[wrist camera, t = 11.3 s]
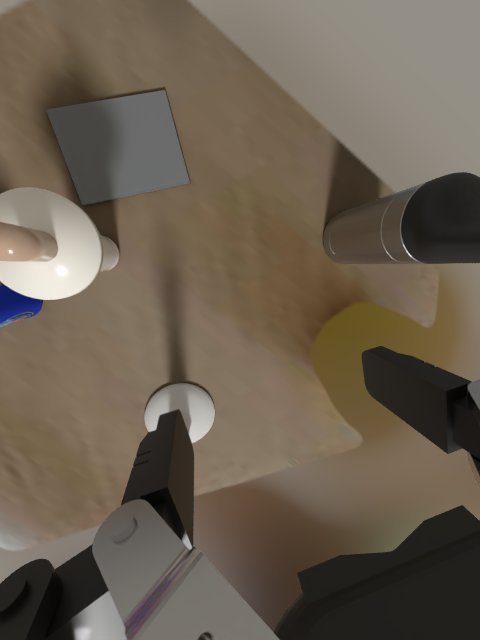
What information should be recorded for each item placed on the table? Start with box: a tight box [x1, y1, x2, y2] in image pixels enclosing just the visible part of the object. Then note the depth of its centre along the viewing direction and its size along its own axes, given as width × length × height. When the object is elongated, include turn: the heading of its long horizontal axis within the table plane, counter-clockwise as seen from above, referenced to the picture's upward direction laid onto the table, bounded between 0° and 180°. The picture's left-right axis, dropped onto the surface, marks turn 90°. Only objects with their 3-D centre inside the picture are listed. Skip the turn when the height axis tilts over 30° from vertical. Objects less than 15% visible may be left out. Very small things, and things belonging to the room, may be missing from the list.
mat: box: [46, 90, 190, 206], centre depth 35 cm, size 16×12×1 cm
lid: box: [0, 187, 104, 300], centre depth 21 cm, size 10×10×6 cm
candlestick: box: [145, 383, 215, 443], centre depth 32 cm, size 13×13×30 cm
